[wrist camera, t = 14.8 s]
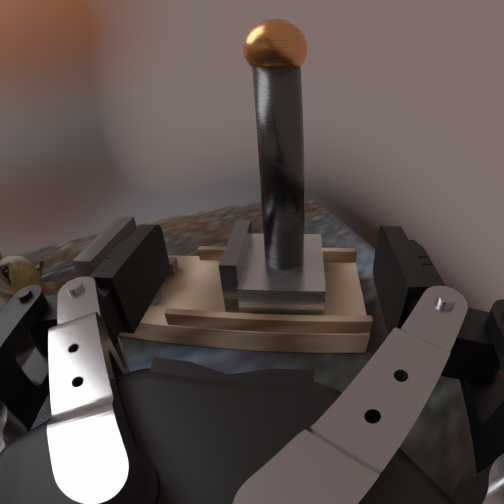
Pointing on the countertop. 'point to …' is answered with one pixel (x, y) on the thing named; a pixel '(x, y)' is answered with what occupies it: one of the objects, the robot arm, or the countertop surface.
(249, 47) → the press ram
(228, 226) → the countertop surface
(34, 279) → the ceramic sculpture
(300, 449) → the robot arm
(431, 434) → the countertop surface
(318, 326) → the base
